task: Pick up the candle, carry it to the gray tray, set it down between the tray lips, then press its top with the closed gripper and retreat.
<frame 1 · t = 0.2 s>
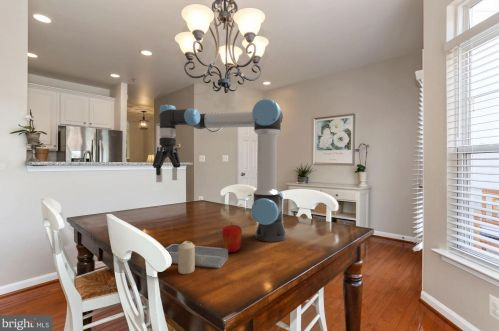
hand: (167, 181, 125), 28 cm above the table, fingers open, 13 cm apart
apple: (231, 251, 108), on the table
gray tray: (194, 259, 98), on the table
candle: (186, 271, 88), on the table
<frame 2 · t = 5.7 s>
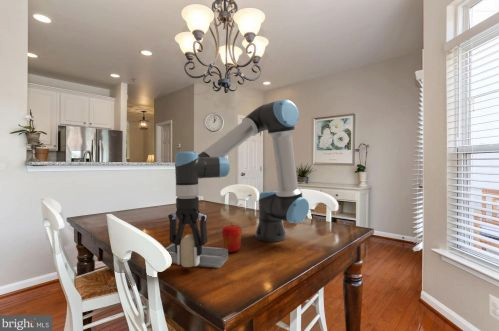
hand: (188, 263, 88), 3 cm above the table, fingers closed on candle, 5 cm apart
candle: (189, 264, 88), point 2 cm above the table, touching gripper
everything else where it was.
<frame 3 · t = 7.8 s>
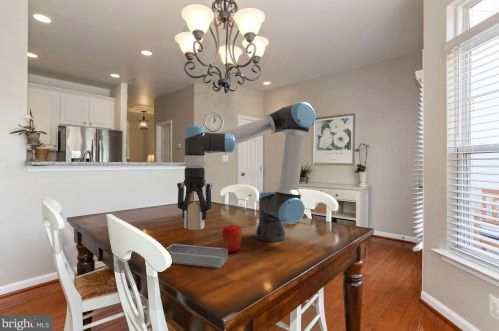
hand: (194, 227, 97), 12 cm above the table, fingers closed on candle, 5 cm apart
candle: (194, 228, 98), point 12 cm above the table, touching gripper
everything else where it was.
when the fingers open (2 cm above the table, at t = 9.8 s): candle stays where it is, resting on gray tray.
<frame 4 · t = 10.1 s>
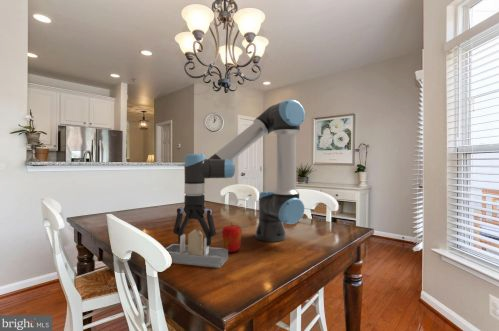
hand: (194, 252, 98), 3 cm above the table, fingers open, 9 cm apart
candle: (195, 256, 98), point 1 cm above the table, touching gray tray
everything else where it was.
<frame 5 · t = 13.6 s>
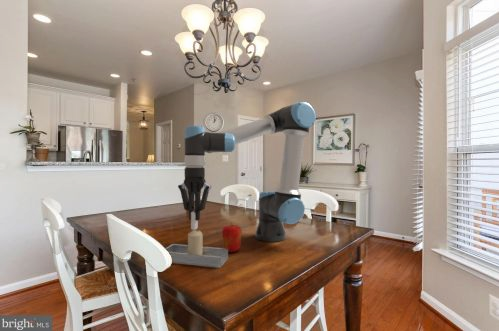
hand: (194, 228, 98), 12 cm above the table, fingers closed
nothing on the table moved.
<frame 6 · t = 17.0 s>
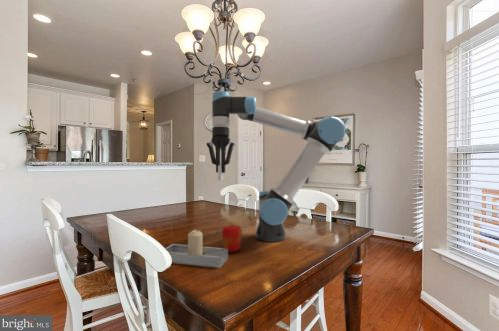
hand: (220, 180, 114), 29 cm above the table, fingers closed
nothing on the table moved.
at the end: candle inside the target area on the gray tray (0.6 cm from its centre), point 1.0 cm above the gray tray's base; candle tilted 0°; the gripper is holding nothing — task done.
